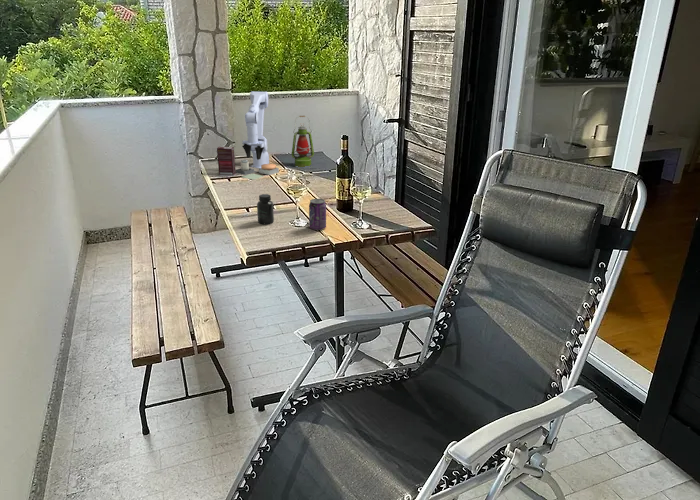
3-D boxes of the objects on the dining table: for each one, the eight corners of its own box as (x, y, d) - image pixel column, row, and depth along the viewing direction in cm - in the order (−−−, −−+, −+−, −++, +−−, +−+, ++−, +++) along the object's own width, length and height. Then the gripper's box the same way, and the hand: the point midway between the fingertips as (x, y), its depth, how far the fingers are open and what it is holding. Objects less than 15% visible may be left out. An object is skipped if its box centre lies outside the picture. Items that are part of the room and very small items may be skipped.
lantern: (312, 163, 329) (311, 113, 317) (316, 167, 319) (315, 116, 308) (290, 164, 325) (288, 114, 313) (293, 168, 316) (292, 117, 304)
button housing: (268, 170, 310) (268, 165, 308) (278, 173, 305) (278, 167, 304) (259, 173, 303) (258, 168, 302) (269, 175, 299) (269, 170, 298)
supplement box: (236, 174, 300) (234, 146, 294) (233, 176, 296) (231, 148, 290) (221, 174, 301) (219, 146, 295) (218, 176, 297) (216, 147, 290)
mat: (252, 174, 301) (252, 173, 301) (264, 177, 297) (264, 176, 297) (241, 177, 295) (241, 176, 294) (253, 180, 290) (253, 179, 290)
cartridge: (245, 170, 308) (244, 159, 305) (250, 171, 306) (250, 160, 303) (239, 171, 305) (238, 160, 302) (245, 173, 302) (244, 162, 300)
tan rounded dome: (268, 170, 310) (268, 163, 308) (279, 172, 305) (279, 165, 304) (258, 172, 303) (258, 165, 302) (269, 175, 299) (269, 168, 297)
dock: (245, 169, 312) (244, 166, 311) (257, 172, 306) (257, 169, 306) (232, 172, 304) (232, 169, 303) (245, 175, 299) (245, 172, 298)
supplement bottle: (264, 218, 233) (263, 192, 228) (277, 221, 230) (276, 195, 225) (254, 223, 228) (253, 196, 223) (267, 226, 224) (266, 199, 220)
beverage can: (309, 225, 226) (308, 198, 222) (325, 225, 227) (325, 198, 222) (309, 231, 220) (309, 203, 215) (326, 230, 220) (326, 203, 216)
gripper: (237, 133, 297) (239, 157, 302) (257, 137, 290) (258, 161, 295) (246, 132, 302) (248, 155, 308) (266, 135, 295) (267, 159, 300)
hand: (253, 158), depth 302 cm, fingers open, 7 cm apart
